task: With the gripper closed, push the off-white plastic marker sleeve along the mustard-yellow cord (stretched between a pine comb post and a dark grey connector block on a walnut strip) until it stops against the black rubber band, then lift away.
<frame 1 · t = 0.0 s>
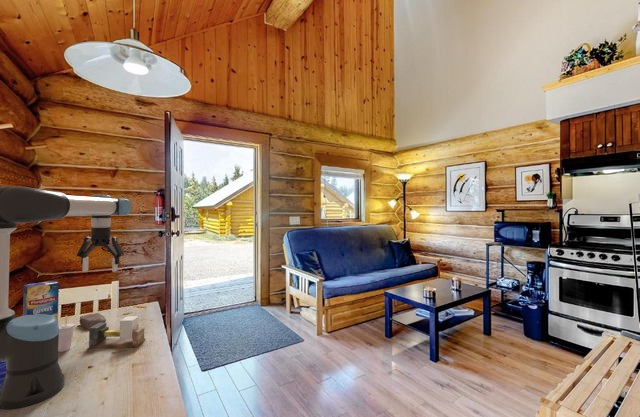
hand: (100, 271, 140), 28 cm above the table, fingers open, 13 cm apart
sleeve: (129, 327, 126), point 7 cm above the table, slide at 0.0 cm
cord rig: (118, 343, 126), on the table
stone: (93, 325, 146), on the table
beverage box: (40, 330, 138), on the table
smoothie: (64, 350, 120), on the table
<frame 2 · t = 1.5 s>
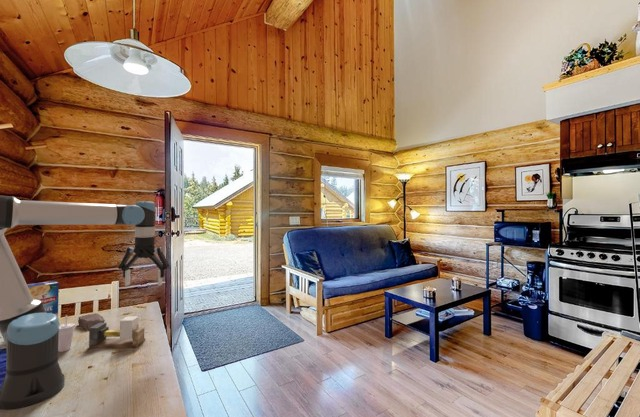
hand: (143, 285, 128), 25 cm above the table, fingers open, 13 cm apart
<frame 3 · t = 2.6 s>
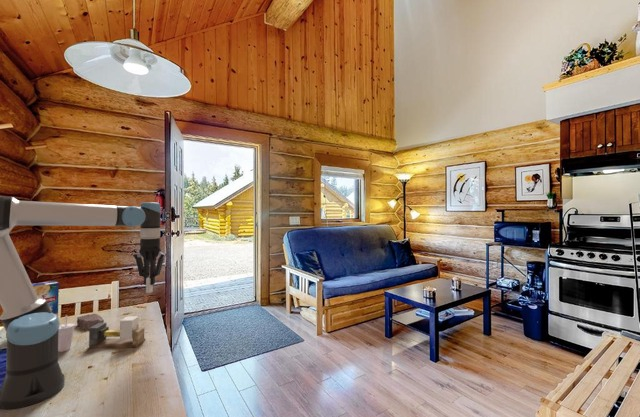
hand: (149, 292, 127), 22 cm above the table, fingers closed
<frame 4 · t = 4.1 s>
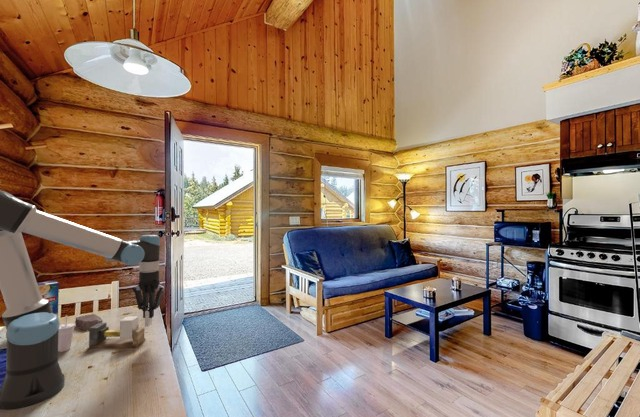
hand: (148, 325, 126), 8 cm above the table, fingers closed
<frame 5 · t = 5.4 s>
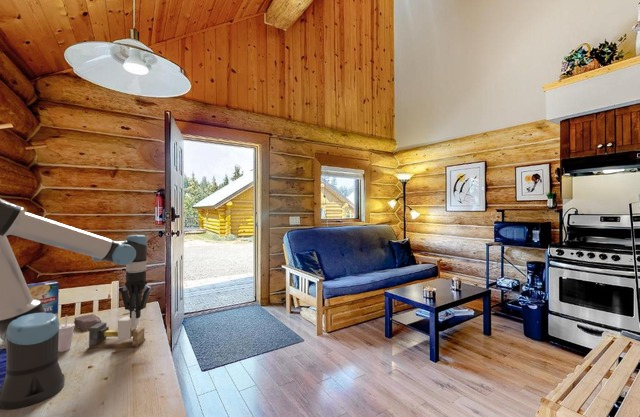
hand: (134, 325, 126), 8 cm above the table, fingers closed
sleeve: (127, 327, 126), point 7 cm above the table, slide at 0.9 cm, touching gripper
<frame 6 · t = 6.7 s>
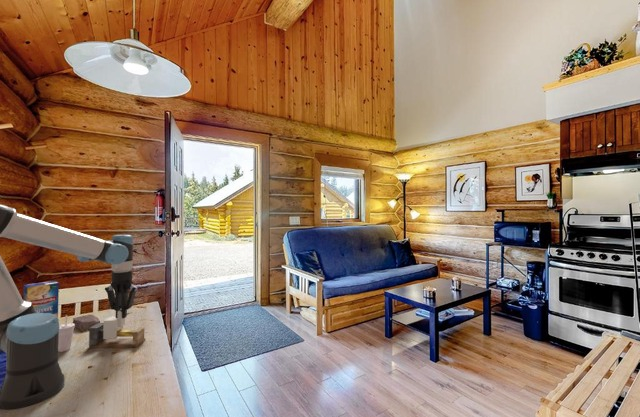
hand: (121, 325, 126), 8 cm above the table, fingers closed
sleeve: (113, 327, 126), point 7 cm above the table, slide at 6.7 cm, touching gripper
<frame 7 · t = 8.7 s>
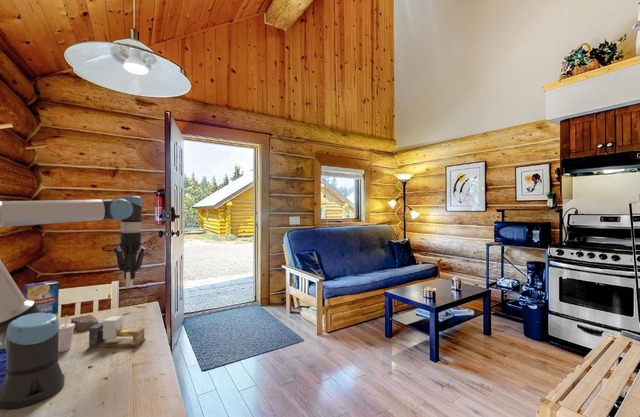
hand: (129, 286, 126), 25 cm above the table, fingers closed
sleeve: (112, 327, 126), point 7 cm above the table, slide at 6.9 cm
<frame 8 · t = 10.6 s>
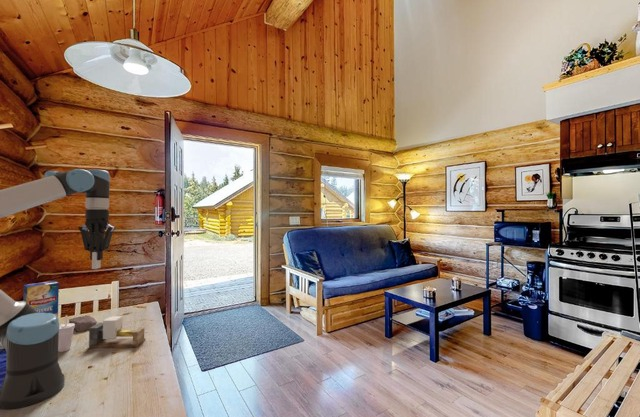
hand: (96, 268, 116), 34 cm above the table, fingers closed
at the end: sleeve slide at 6.9 cm; sleeve touching nothing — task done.
